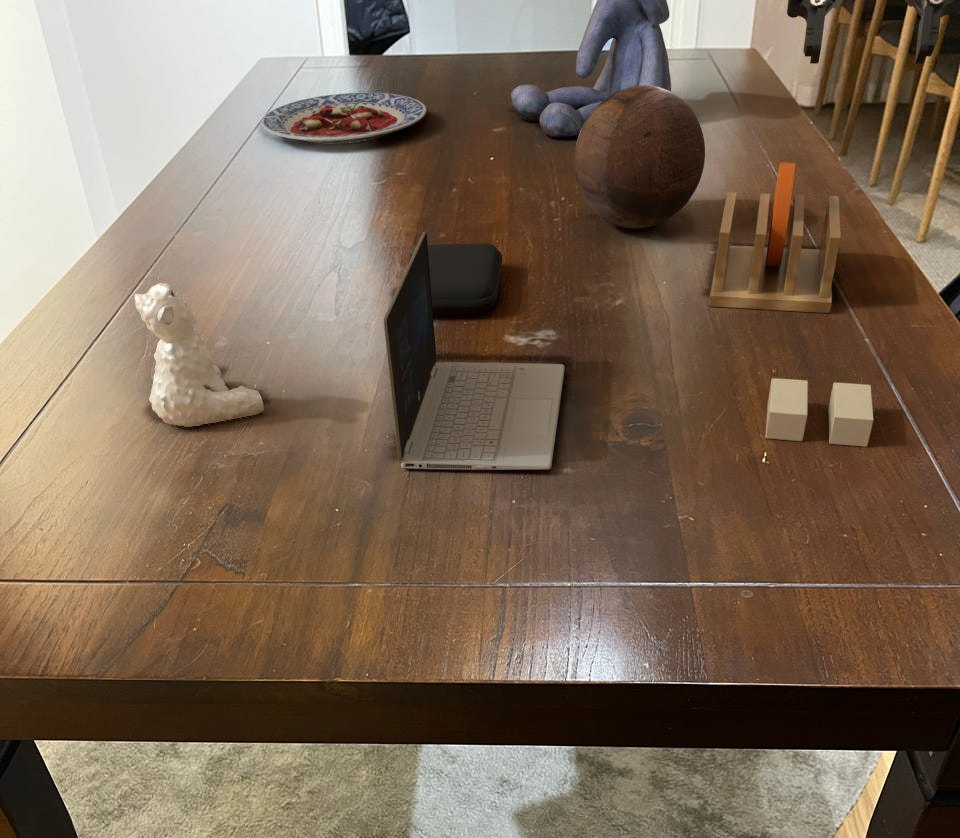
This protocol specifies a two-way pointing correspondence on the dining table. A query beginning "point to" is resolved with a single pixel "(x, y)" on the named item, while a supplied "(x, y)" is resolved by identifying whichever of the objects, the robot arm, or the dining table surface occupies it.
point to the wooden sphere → (639, 156)
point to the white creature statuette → (187, 367)
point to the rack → (776, 288)
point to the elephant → (631, 62)
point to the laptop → (462, 393)
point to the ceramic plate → (344, 117)
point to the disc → (780, 214)
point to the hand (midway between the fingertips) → (868, 58)
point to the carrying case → (464, 277)
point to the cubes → (845, 412)
